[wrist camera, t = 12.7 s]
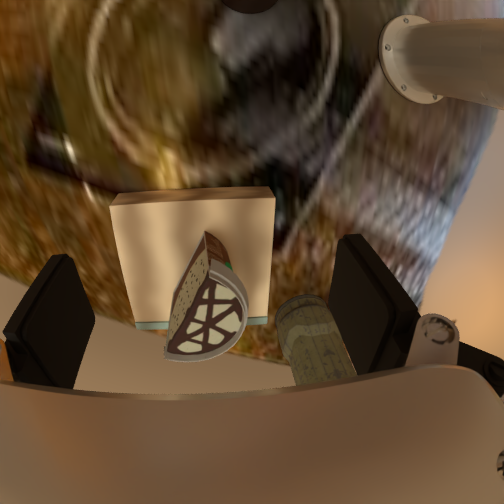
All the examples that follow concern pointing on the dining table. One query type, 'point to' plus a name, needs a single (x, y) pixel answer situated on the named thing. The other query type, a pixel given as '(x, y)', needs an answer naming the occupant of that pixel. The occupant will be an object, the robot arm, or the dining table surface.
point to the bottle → (250, 5)
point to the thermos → (312, 341)
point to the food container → (206, 305)
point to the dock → (191, 243)
